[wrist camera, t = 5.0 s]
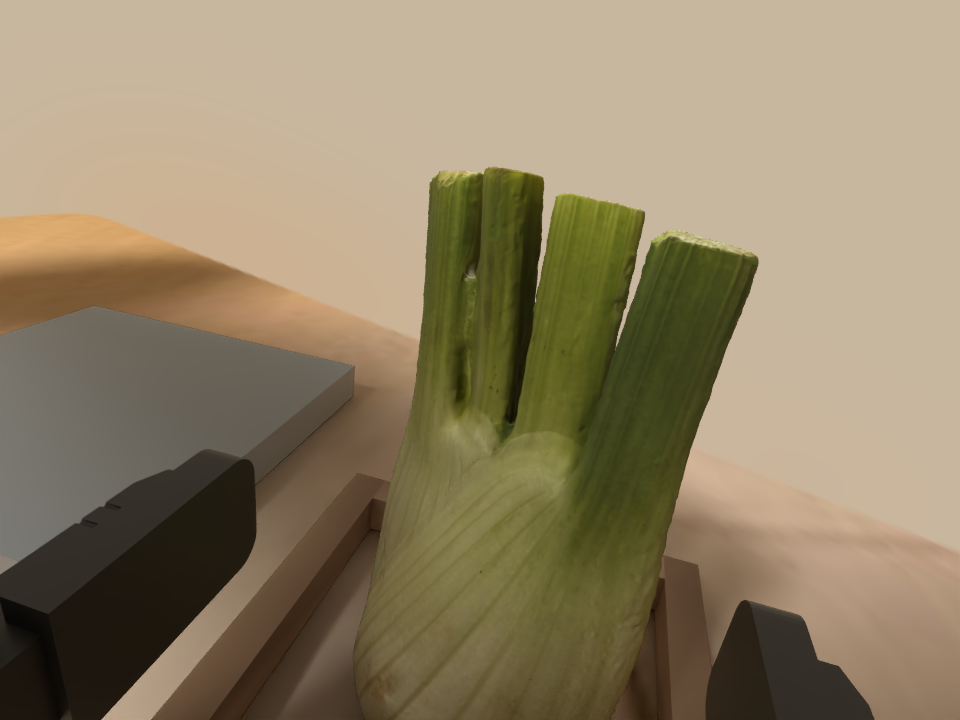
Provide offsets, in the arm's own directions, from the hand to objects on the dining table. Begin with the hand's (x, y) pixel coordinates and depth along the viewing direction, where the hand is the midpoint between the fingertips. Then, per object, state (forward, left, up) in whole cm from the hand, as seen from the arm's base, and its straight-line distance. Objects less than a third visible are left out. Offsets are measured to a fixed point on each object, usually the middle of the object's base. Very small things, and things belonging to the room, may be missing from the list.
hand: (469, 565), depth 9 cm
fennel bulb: (0, +2, -6) cm, 6 cm away
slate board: (-16, +8, -6) cm, 19 cm away
